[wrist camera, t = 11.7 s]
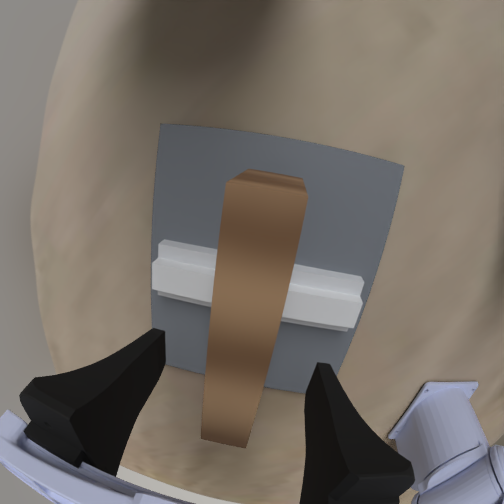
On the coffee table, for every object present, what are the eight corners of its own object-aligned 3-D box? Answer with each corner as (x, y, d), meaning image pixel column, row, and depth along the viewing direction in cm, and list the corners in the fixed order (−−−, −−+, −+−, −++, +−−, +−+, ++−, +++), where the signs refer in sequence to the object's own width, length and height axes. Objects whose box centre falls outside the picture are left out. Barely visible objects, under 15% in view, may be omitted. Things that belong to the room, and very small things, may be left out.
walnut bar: (256, 387, 22) (245, 448, 16) (219, 379, 22) (200, 438, 17) (302, 178, 16) (308, 196, 10) (248, 168, 16) (225, 182, 11)
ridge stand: (326, 388, 25) (328, 412, 22) (157, 354, 26) (145, 374, 23) (399, 164, 18) (416, 168, 15) (166, 124, 19) (147, 122, 16)
